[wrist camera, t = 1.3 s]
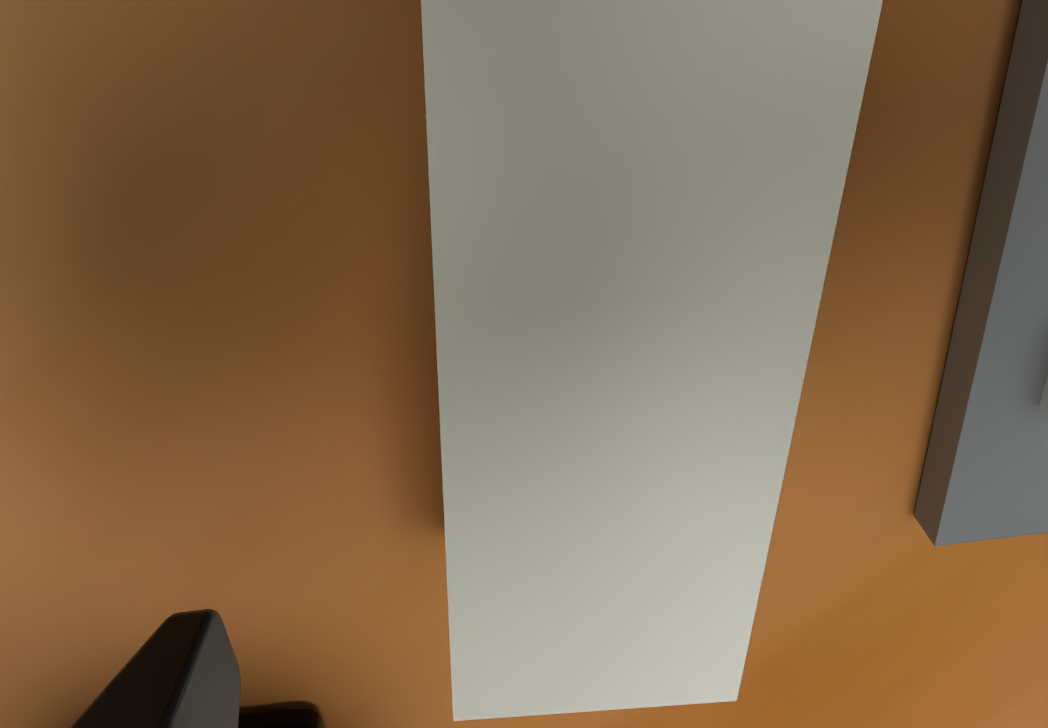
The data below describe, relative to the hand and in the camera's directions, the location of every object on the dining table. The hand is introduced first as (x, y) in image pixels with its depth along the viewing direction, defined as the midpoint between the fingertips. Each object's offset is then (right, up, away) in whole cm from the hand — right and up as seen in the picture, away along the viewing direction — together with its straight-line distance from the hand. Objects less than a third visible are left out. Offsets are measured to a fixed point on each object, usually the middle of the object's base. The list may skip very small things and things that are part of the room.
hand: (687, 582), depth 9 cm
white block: (-1, +5, +8) cm, 9 cm away
